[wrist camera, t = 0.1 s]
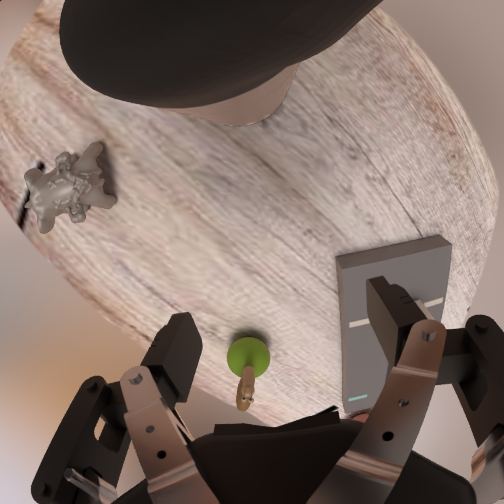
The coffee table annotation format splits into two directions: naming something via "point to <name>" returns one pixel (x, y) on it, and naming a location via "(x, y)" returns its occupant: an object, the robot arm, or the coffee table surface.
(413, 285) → the fader console
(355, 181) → the coffee table surface
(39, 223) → the grey animal figurine
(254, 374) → the snail figurine
